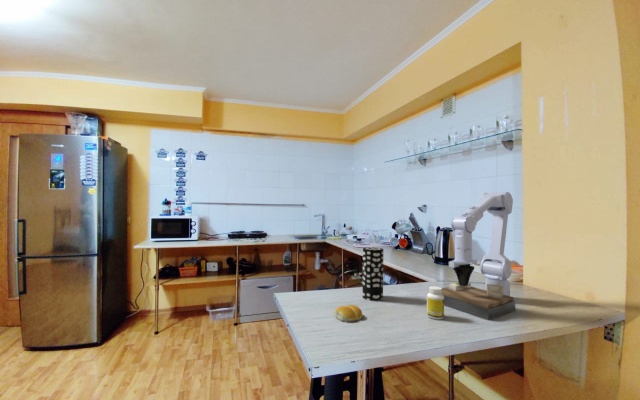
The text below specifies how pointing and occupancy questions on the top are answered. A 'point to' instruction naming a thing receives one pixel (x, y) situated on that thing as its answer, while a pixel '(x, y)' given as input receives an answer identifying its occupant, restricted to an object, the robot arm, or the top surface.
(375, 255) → the spotted tube
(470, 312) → the base
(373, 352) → the top surface
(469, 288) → the plate
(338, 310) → the bread roll
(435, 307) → the supplement bottle
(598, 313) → the top surface
